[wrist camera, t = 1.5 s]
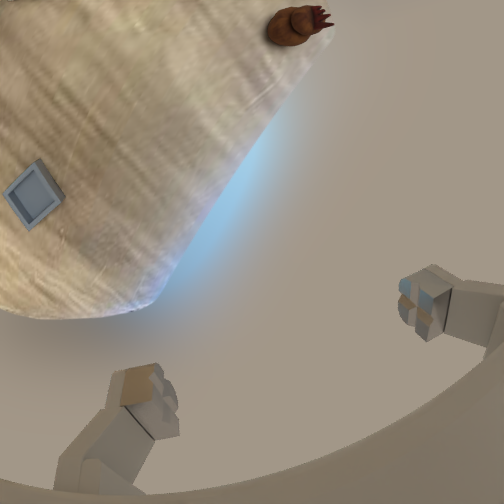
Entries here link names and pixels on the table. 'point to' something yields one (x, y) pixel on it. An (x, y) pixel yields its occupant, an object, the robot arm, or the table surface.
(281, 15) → the wooden figurine
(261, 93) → the table surface
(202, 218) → the table surface
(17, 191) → the tray
